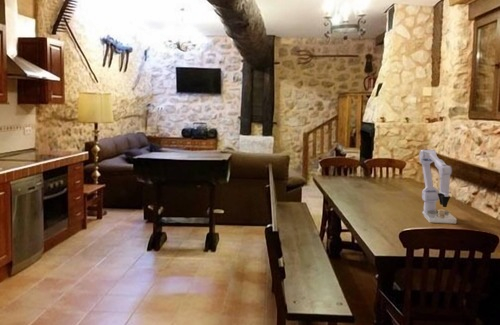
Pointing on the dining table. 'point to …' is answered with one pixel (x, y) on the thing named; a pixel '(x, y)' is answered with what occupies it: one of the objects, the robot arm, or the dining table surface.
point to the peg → (441, 213)
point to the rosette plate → (433, 217)
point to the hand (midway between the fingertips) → (443, 205)
